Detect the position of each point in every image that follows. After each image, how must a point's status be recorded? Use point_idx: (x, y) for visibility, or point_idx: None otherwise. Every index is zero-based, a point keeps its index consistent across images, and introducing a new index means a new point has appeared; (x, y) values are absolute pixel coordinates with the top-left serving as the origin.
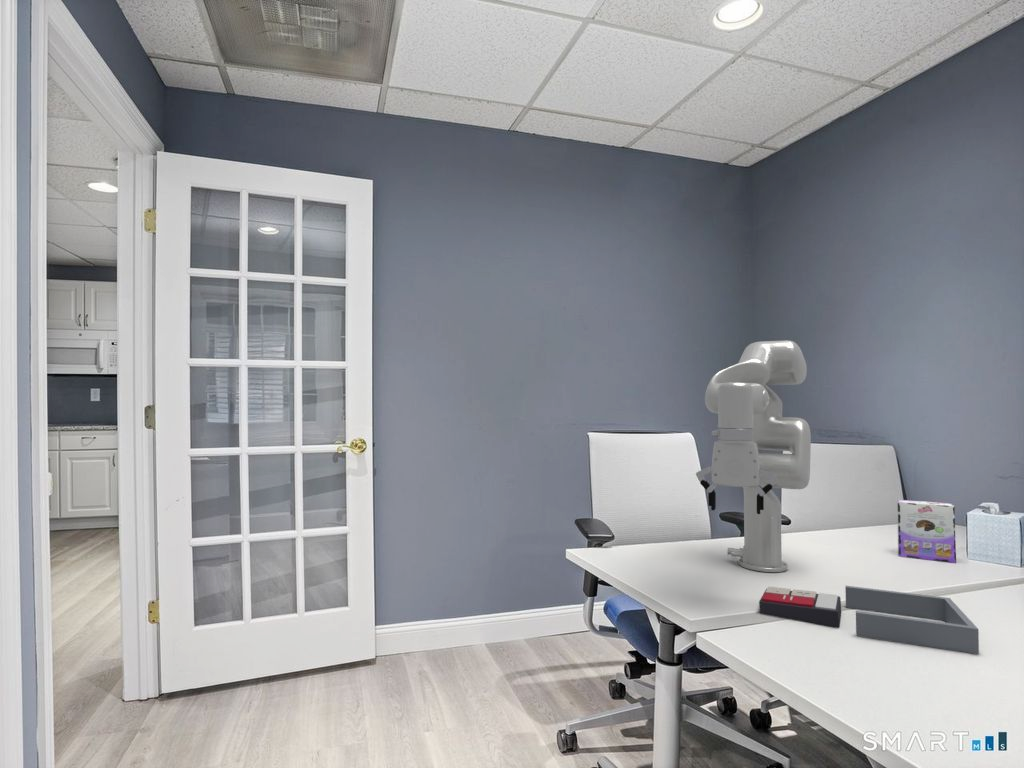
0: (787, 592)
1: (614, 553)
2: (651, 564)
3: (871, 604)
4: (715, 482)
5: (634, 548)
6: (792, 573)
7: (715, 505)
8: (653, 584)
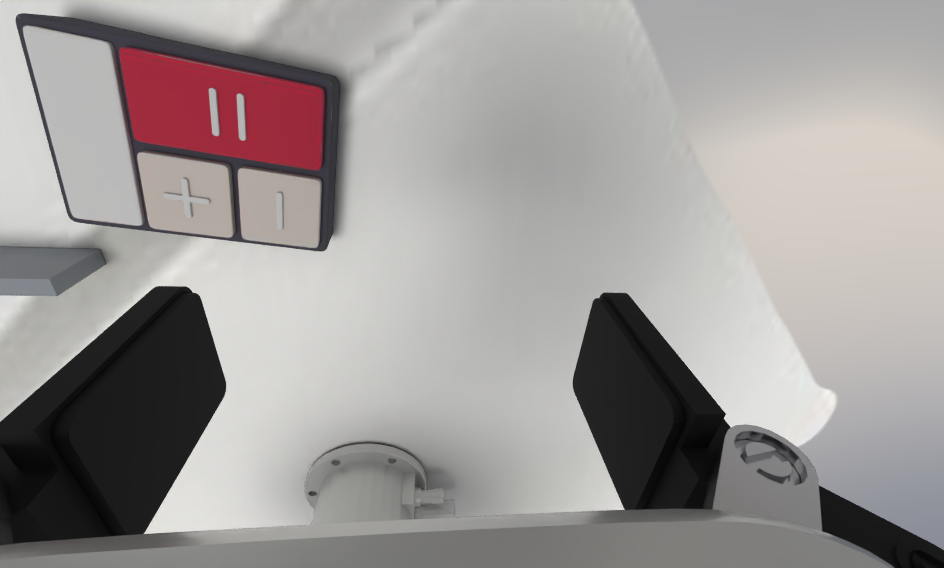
0: (244, 191)
1: None
2: None
3: (5, 255)
4: (856, 557)
5: None
6: (292, 460)
7: (583, 388)
8: (661, 239)
